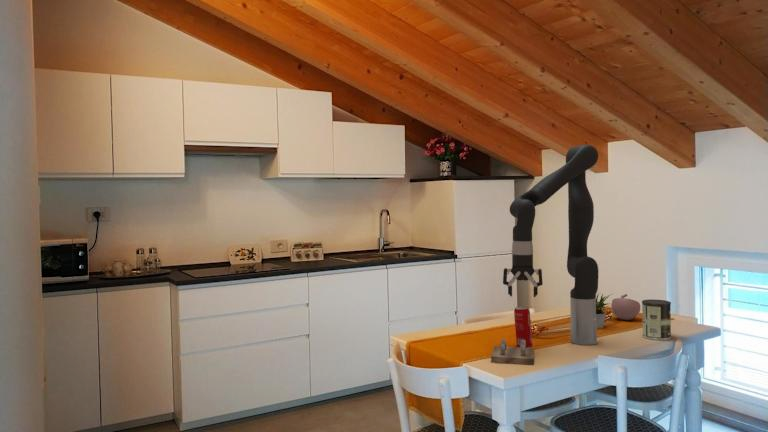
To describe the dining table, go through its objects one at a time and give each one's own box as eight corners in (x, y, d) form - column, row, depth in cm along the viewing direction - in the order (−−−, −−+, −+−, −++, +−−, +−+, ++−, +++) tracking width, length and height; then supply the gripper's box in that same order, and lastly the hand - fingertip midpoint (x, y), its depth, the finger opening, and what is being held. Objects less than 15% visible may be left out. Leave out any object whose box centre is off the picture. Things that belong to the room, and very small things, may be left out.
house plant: (570, 327, 243) (569, 289, 243) (585, 321, 253) (584, 285, 253) (602, 332, 233) (602, 292, 233) (617, 326, 243) (616, 288, 242)
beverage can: (532, 349, 209) (532, 309, 208) (514, 349, 210) (514, 308, 209) (532, 345, 214) (531, 306, 214) (514, 345, 216) (513, 305, 215)
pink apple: (642, 318, 257) (642, 293, 257) (638, 323, 247) (638, 297, 247) (614, 316, 264) (613, 291, 263) (609, 321, 254) (608, 295, 253)
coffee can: (666, 334, 227) (666, 299, 227) (674, 340, 217) (674, 304, 217) (639, 333, 230) (639, 299, 229) (645, 340, 219) (645, 303, 219)
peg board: (534, 353, 203) (534, 338, 203) (533, 364, 190) (533, 348, 190) (494, 351, 207) (494, 336, 207) (491, 362, 194) (491, 346, 194)
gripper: (542, 252, 213) (542, 295, 213) (503, 251, 217) (503, 294, 217) (542, 254, 206) (542, 298, 206) (502, 253, 209) (502, 297, 210)
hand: (522, 296), depth 212 cm, fingers open, 8 cm apart
